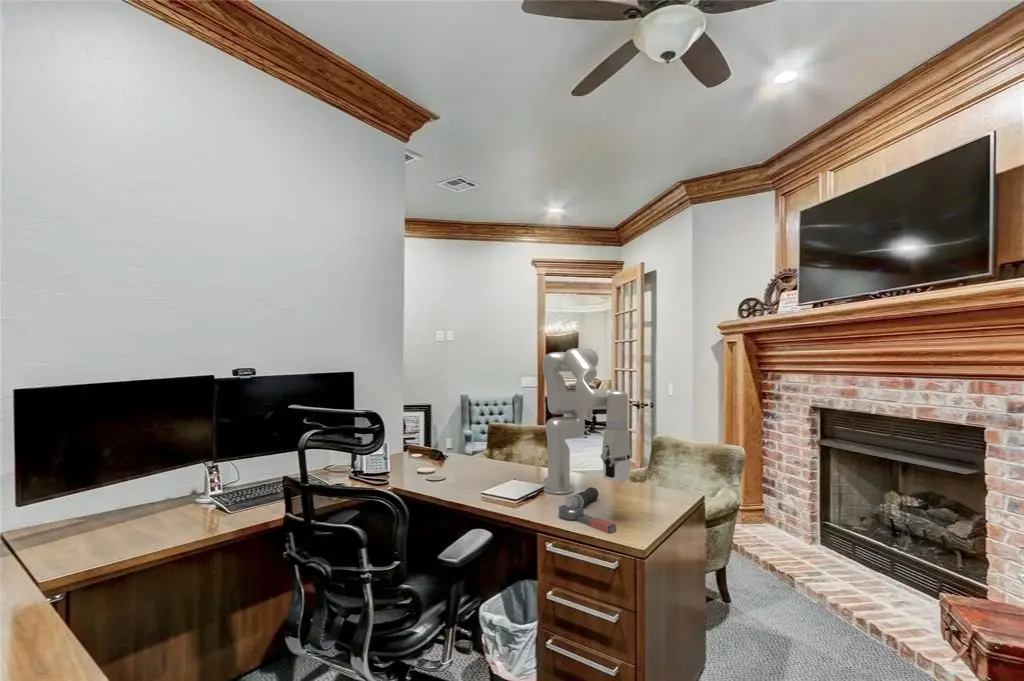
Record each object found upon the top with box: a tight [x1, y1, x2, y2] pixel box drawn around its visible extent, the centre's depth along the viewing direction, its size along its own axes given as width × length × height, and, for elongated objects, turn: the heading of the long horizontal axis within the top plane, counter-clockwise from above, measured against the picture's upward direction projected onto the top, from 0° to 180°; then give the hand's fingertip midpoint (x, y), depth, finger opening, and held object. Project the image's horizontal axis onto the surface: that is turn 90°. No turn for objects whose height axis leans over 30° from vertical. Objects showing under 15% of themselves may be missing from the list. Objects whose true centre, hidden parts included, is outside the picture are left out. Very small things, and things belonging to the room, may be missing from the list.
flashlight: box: [572, 486, 599, 508], centre depth 192 cm, size 15×5×5 cm, turn 146°
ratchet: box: [558, 495, 617, 534], centre depth 170 cm, size 24×9×7 cm, turn 38°
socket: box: [602, 457, 631, 483], centre depth 174 cm, size 7×7×7 cm
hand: (616, 474), depth 174 cm, fingers closed on socket, 6 cm apart
